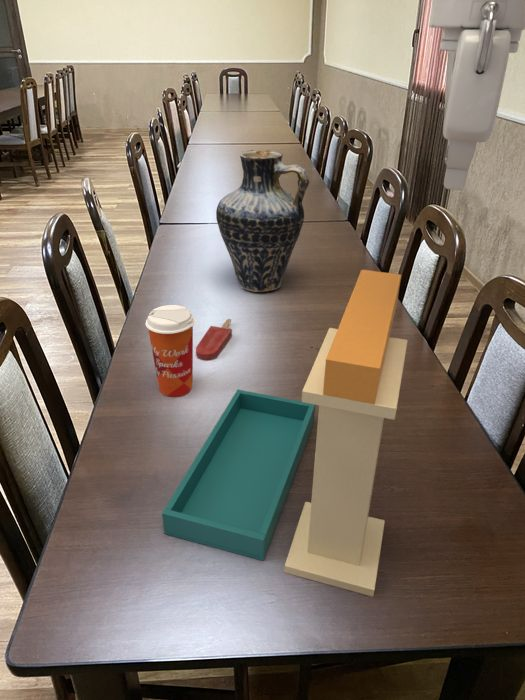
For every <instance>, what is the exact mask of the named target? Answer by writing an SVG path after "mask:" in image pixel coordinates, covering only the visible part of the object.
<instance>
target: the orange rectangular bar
mask: <svg viewBox="0 0 525 700" xmlns="http://www.w3.org/2000/svg"><path fill="white" fill-rule="evenodd" d="M401 280H402V274H400V273H393V272H383V271H377V270H376V271H375V270H370V269H369V270H368V269H360V272H359V275H358V277H357V281H356V282H355V285H354V288H353V290H352V292H351V295H350V298H349V300H348V303H347V305H346V307H345V311H344V312H343V315H342V317H341V321H340V323H339V325H338V328H337V329H338V330H337V333H336V335H335V338H334V340H333V343H332V345H331V348H330V350H329V353H328V355H327V358H326V364H325V375H324V387H323V395H327V396H333V397H338V398H343V399H349V400H354V401H359V402H365V403H370V404H375V401H376V396H377V392H378V387H379V383H380V378H381V374H382V369H383V365H384V360H385V356H386V351H387V346H388V342H389V337H391V332H392V328H393V324H394V323H393V322H394V320H395V319H394V318H395V314H396V310H397V305H398V299H399V293H400V286H401Z"/></svg>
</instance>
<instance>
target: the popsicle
mask: <svg viewBox="0 0 525 700" xmlns="http://www.w3.org/2000/svg"><path fill="white" fill-rule="evenodd" d="M231 322H232V319H231V318H227V319H226V320H225V322H224V323H223V324H222V326H221V327H220V326H214V325H210V326H209V328H208V329H207V330H206V332H205V334H204V335H203V337H202V338H201V340H199V342H198V344H197V345H196V347H195V355H196V357H197V359H200V360H204V361H210V360H214V359H216V358H217V357H218V356H219V355H220V353H221V352H222V350H223V349H224V348H225V346H226V345H227V344H228V343H229V341H230V340H231V339H232V337H233V329H232V328H228V326H230V324H231Z"/></svg>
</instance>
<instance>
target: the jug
mask: <svg viewBox="0 0 525 700" xmlns="http://www.w3.org/2000/svg"><path fill="white" fill-rule="evenodd" d="M283 156H284V154H283V153H282V152H278V151H273V150H265V151H262V150H255V149H251V150H245V151H242V152H241V153H240V154H239V157H240V162H241V166H242V171H243V175H242V176H243V177H242V180H241V184H240V186H239V187H237V188H236V189H234V190H233V191H231V192H229V193H227V194H226V195H224V196H223V197H222V198H221V199H220V200H219V202H218V204H217V207H216V211H215V212H216V213H215V215H216V216H215V217H216V218H215V219H216V223H217V226H218V229H219V233H220V236H221V238H222V241H223V243H224V245H225V247H226V250H227V252H228V254H229V255H228V256H229V257H230V260H231V262H232V266H233V269H234V273H235V277H236V281H237V284H238V285H239V287H240V288H242V289H243V290H246V291H251V292H255V293H256V292H257V293H258V292H269V291H274V290H278V289H279V288H280V287H282V282H283V280H284V276H285V272H286V270H287V268H288V264H289V262H290V259H291V256H292V254H293V251H294V248H295V246H296V243H297V241H298V240H299V237H300V234H301V230H302V227H303V224H304V221H305V210H304V206H303V200H304V197H305V195H306V192H307V189H308V187H309V185H310V178H309V176H308V175H309V174H308V172H307V171H306V168H304V167H302V166H300V165H298V164H289V165H287V164H286V165H285V163H283V162H282V160H283ZM289 173H294V174H297V175H296V176H297V179H298V180H297V190H296V192H295V195H293V194H292V193H291V192H290V191H287V190H285V189H284V188H283V187H282V186H281V183H280V177H281V175H286V174H289Z"/></svg>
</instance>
